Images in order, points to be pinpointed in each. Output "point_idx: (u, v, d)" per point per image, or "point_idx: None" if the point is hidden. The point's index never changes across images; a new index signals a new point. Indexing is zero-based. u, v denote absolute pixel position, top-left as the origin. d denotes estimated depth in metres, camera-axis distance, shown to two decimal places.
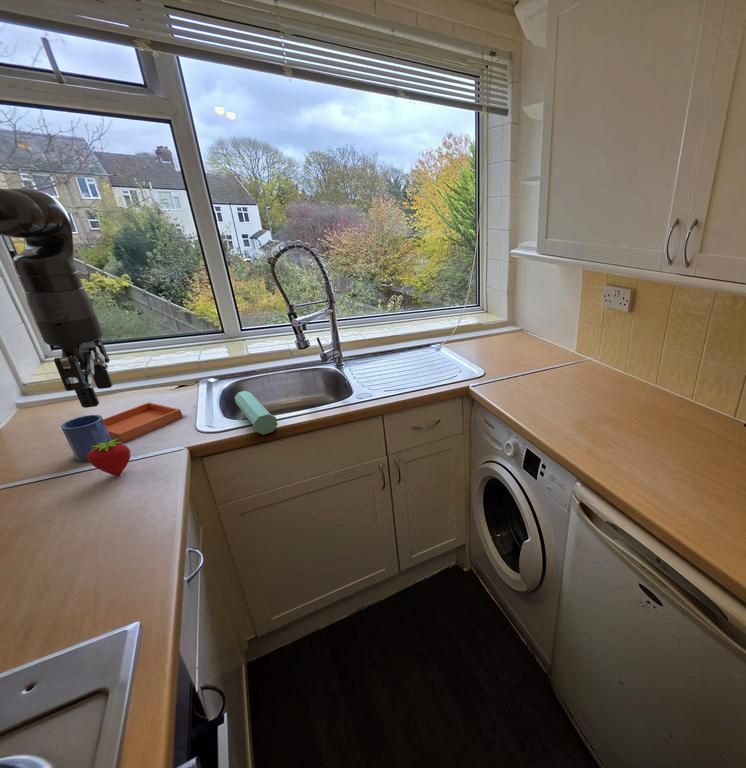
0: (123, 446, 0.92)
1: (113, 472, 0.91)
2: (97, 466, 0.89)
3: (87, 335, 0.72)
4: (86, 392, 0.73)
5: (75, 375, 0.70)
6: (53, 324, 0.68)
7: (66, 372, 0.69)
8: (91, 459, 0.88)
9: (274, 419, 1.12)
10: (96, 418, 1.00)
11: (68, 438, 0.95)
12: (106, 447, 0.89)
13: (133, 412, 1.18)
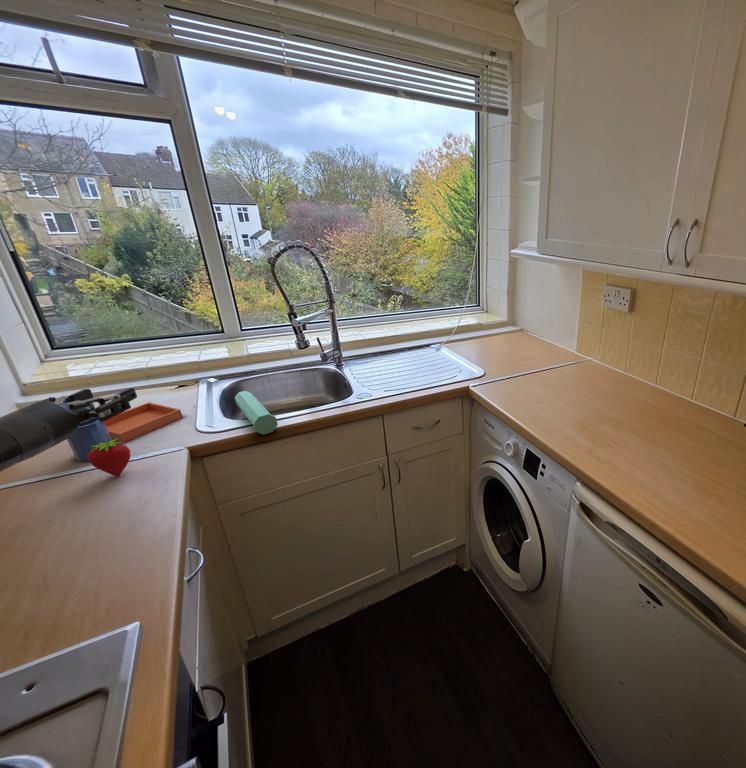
0: (123, 446, 0.92)
1: (113, 472, 0.91)
2: (97, 466, 0.89)
3: None
4: None
5: None
6: None
7: None
8: (91, 459, 0.88)
9: (274, 419, 1.12)
10: (96, 418, 1.00)
11: (68, 438, 0.95)
12: (106, 447, 0.89)
13: (133, 412, 1.18)
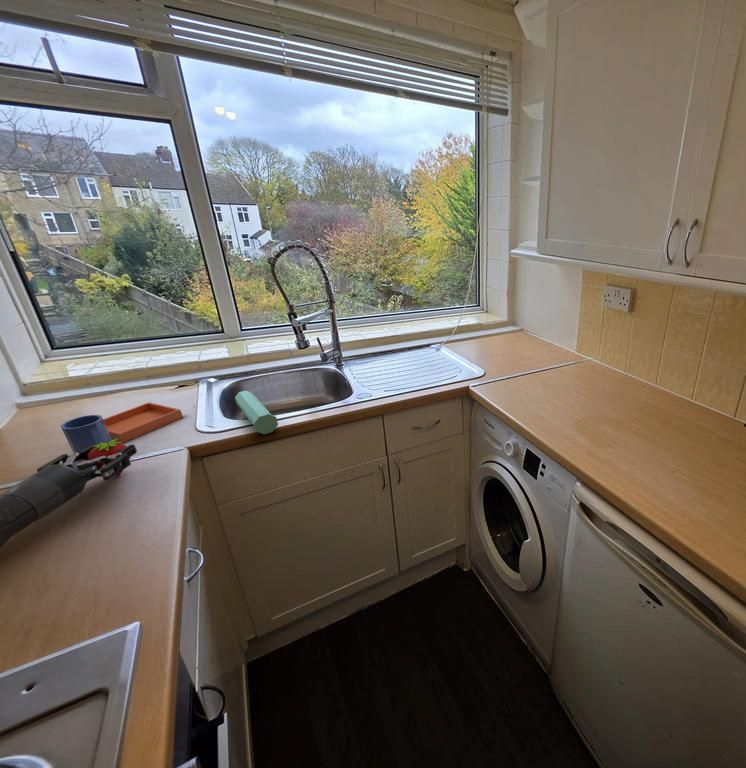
0: (123, 446, 0.92)
1: None
2: None
3: None
4: None
5: None
6: None
7: None
8: (91, 459, 0.88)
9: (274, 419, 1.12)
10: (96, 418, 1.00)
11: (68, 438, 0.95)
12: (106, 447, 0.89)
13: (133, 412, 1.18)
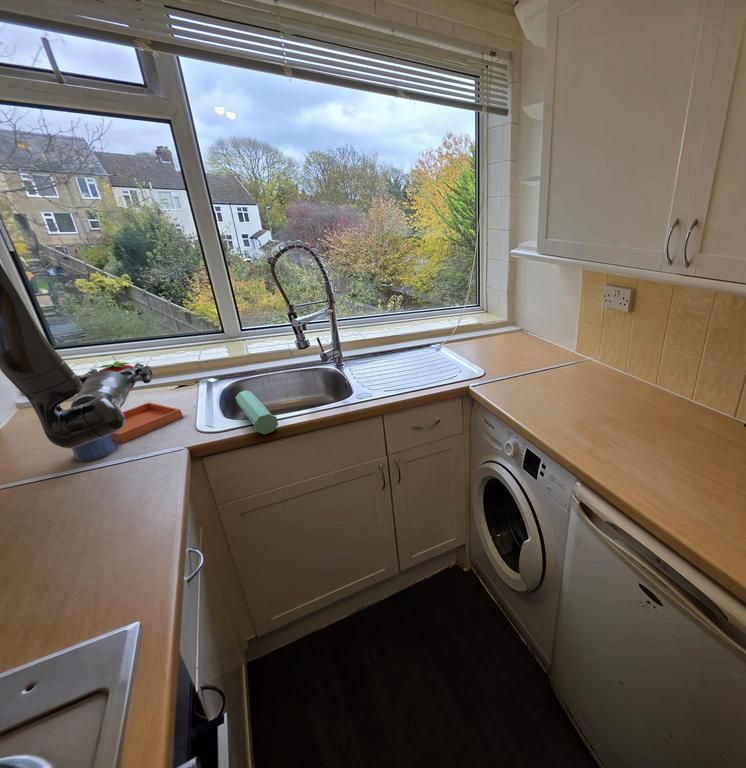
0: (130, 365, 1.01)
1: None
2: None
3: None
4: None
5: None
6: None
7: None
8: None
9: (275, 419, 1.12)
10: None
11: None
12: (119, 365, 0.99)
13: (133, 412, 1.18)
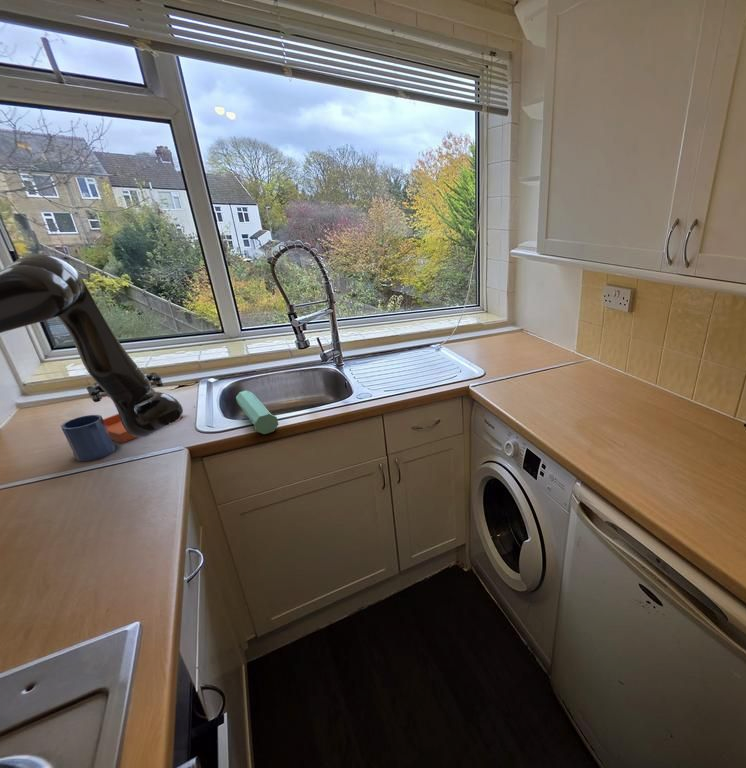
0: None
1: None
2: None
3: None
4: None
5: (91, 397, 1.01)
6: None
7: (90, 394, 1.00)
8: None
9: (275, 419, 1.12)
10: (96, 418, 1.00)
11: (68, 438, 0.95)
12: None
13: None
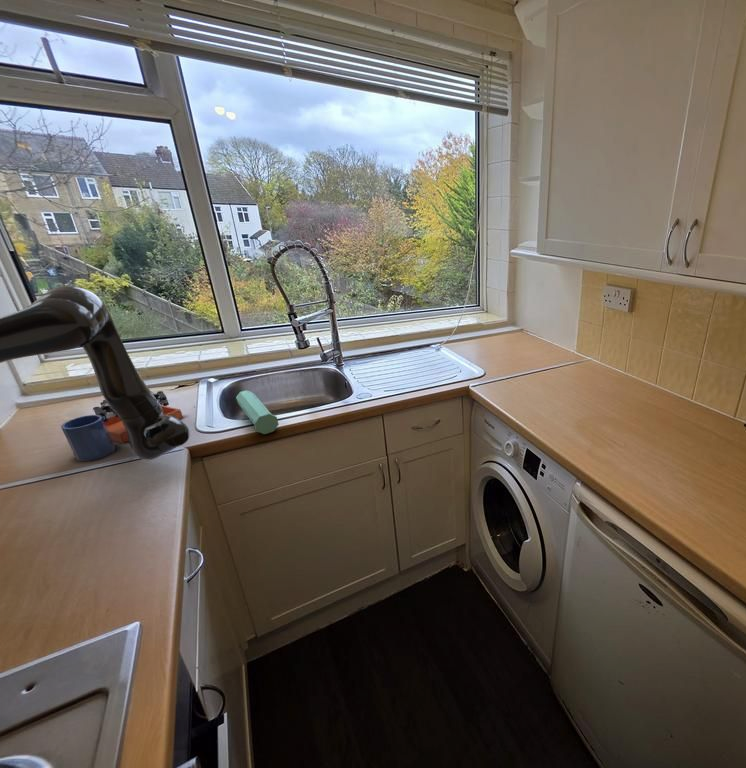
0: None
1: None
2: None
3: None
4: None
5: None
6: None
7: (97, 414, 1.02)
8: None
9: (275, 419, 1.12)
10: (96, 418, 1.00)
11: (68, 438, 0.95)
12: None
13: None
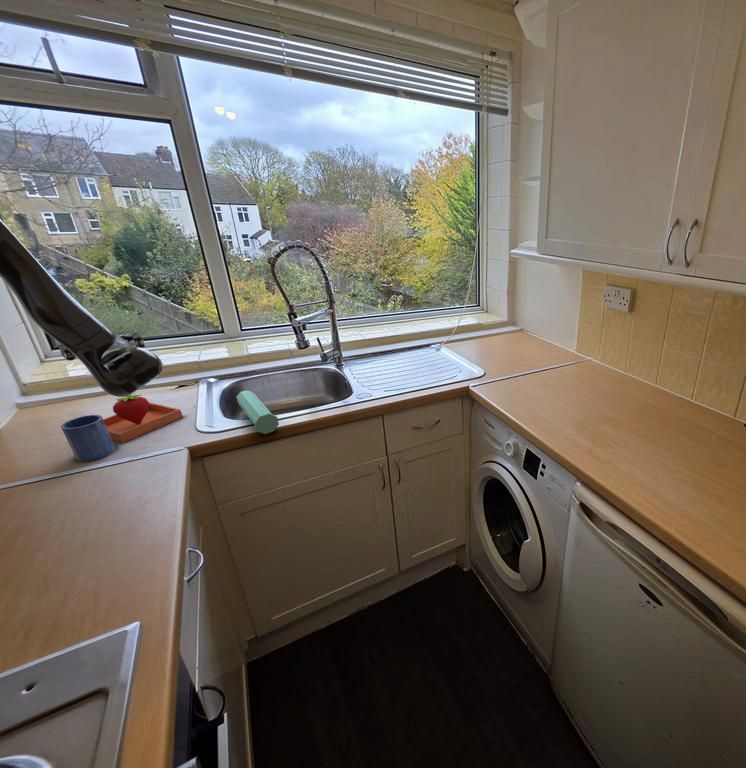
0: None
1: (140, 418, 1.13)
2: (132, 414, 1.10)
3: None
4: None
5: (63, 355, 0.92)
6: None
7: (62, 352, 0.91)
8: (127, 408, 1.09)
9: (275, 419, 1.12)
10: (96, 418, 1.00)
11: (68, 438, 0.95)
12: (133, 397, 1.11)
13: None
